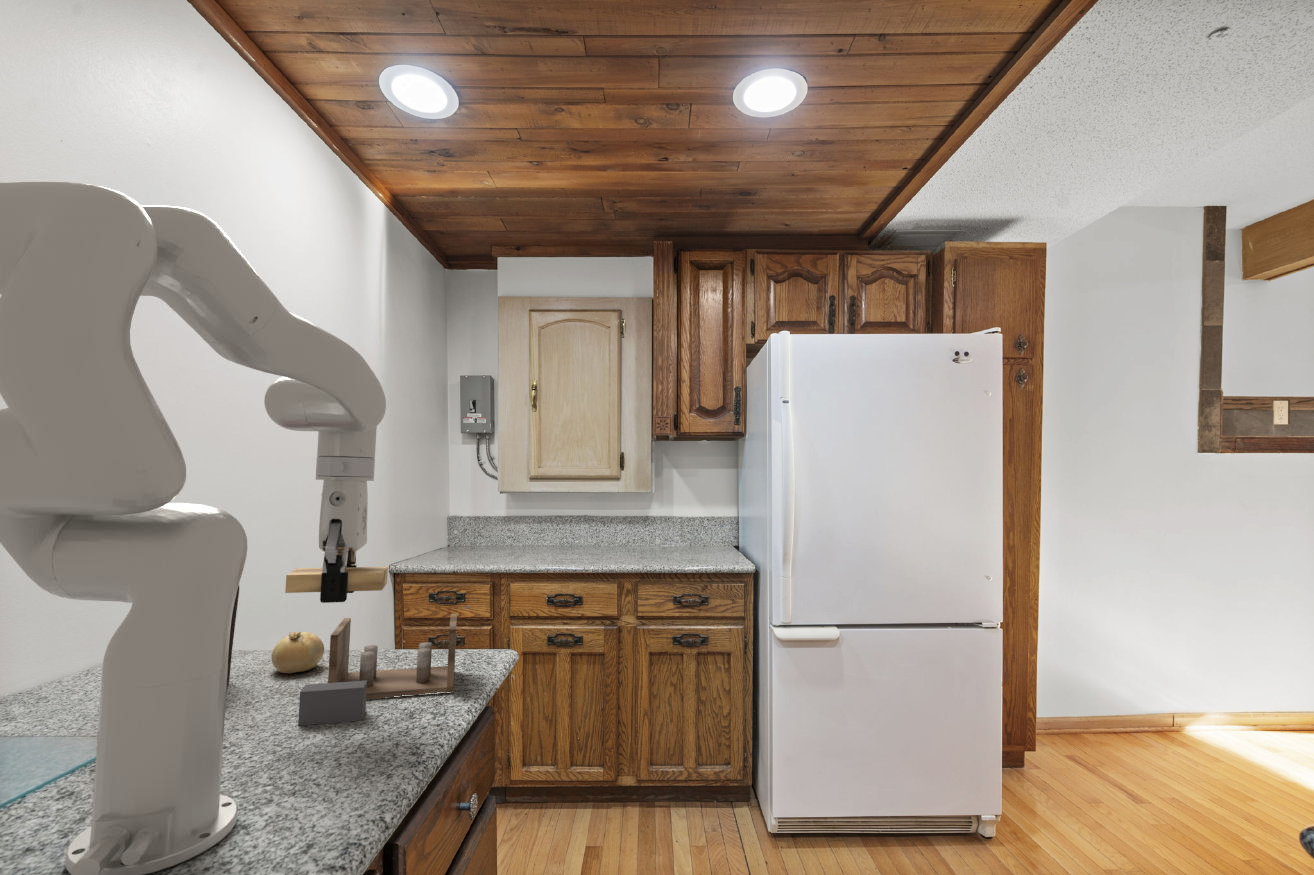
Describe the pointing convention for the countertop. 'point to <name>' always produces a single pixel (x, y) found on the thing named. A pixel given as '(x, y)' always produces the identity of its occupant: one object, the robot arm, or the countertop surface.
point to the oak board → (357, 579)
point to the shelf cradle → (396, 679)
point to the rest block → (332, 702)
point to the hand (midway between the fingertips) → (338, 596)
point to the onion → (297, 652)
